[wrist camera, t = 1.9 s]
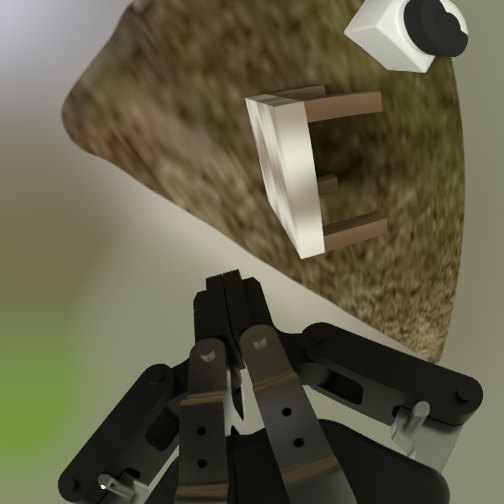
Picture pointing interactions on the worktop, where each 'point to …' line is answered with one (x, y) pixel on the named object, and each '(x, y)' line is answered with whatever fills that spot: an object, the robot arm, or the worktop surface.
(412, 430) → the robot arm
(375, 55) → the medicine bottle
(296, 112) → the footstool
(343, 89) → the worktop surface
